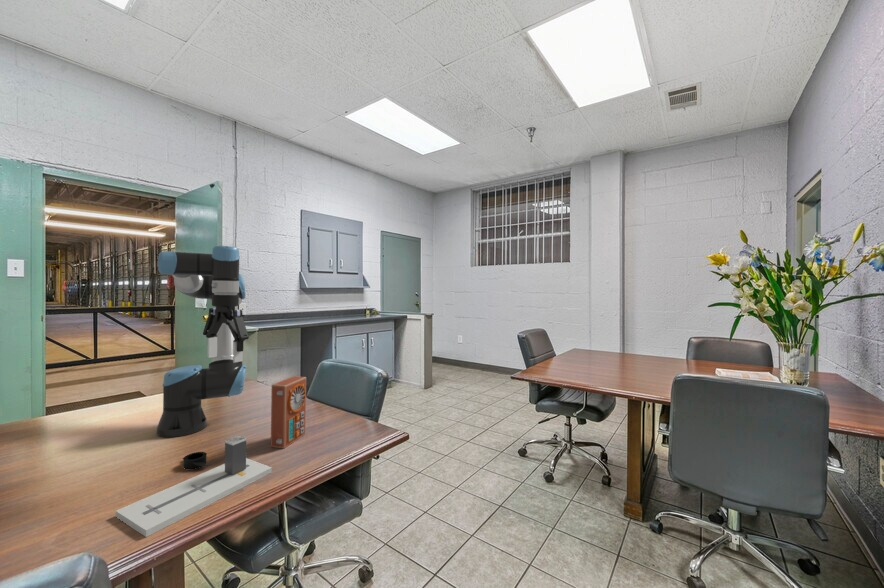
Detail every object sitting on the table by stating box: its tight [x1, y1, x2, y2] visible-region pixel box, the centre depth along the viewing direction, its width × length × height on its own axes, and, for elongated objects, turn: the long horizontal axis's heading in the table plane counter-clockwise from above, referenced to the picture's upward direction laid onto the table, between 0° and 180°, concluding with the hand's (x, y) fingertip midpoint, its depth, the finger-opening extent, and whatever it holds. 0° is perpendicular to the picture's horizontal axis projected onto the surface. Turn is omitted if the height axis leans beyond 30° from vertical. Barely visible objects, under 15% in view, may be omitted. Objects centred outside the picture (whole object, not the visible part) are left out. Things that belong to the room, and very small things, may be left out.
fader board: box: [115, 457, 273, 538], centre depth 94 cm, size 14×31×2 cm, turn 153°
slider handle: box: [224, 435, 247, 475], centre depth 102 cm, size 4×4×9 cm
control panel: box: [270, 375, 307, 449], centre depth 127 cm, size 21×7×15 cm
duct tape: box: [182, 451, 209, 470], centre depth 108 cm, size 8×10×3 cm
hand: (224, 359), depth 116 cm, fingers open, 13 cm apart
